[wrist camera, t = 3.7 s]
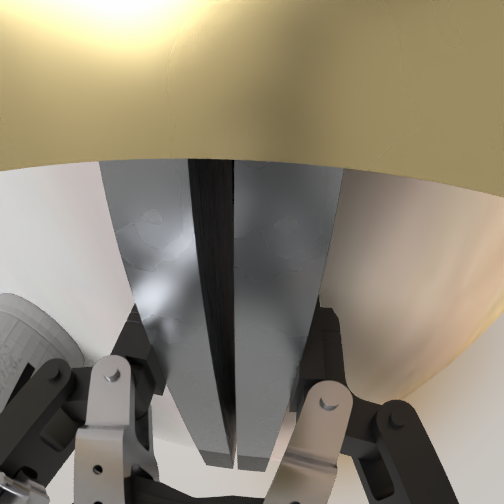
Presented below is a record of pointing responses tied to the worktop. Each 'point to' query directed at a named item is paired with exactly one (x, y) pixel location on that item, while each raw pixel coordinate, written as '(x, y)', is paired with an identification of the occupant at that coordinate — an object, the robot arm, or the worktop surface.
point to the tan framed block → (258, 84)
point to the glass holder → (29, 344)
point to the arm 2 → (275, 288)
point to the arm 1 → (183, 283)
